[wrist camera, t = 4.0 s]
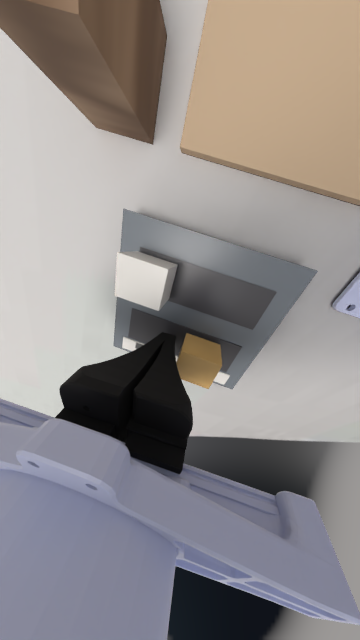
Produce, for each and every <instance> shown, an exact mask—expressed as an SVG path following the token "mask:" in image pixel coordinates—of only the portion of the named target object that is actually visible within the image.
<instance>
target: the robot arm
mask: <svg viewBox="0 0 360 640" xmlns="http://www.w3.org/2000/svg"><path fill="white" fill-rule="evenodd" d="M349 305H351V306H350V307H349V308H348V309H346V308H347V306H349ZM332 307H333V309H335V310H337V311H339V312H342V313H345V314H348V315H351V316H354V317H357V318H360V272H359V274H358V275H357V276H356V277H355V278H354V279H353V280H352V282H351V283H350V284H349V285H348V286H347V287H346V289H345V290H344V291H343V292H342V293H341V294H340V296H339V297H338V298H337V299H336V300H335V301H334V303H333V305H332ZM175 341H176V336H175V335H172V334H168V333H164V332H161V333H160V334H159V335H157V336H156V337H155V338H153V339H152V340H150V341H149V342H148V343H146V344H144V345H143V346H141V347H139V348H138V349H136V350H134V351H132V352H130V353H127V354H125V355H122V356H120V357H117V358H114V359H111V360H108V361H105V362H101V363H97V364H92V365H88V366H83V367H81V368H80V369H79V370H78V371H76V372H75V373H74V374H73V375H72V376H71V377H70V378H69V379H68V380H67V381H66V382H64V383H63V384H62V385H61V387H60V395H61V399H62V402H63V405H64V409H63V410H62V411H61V412H60V413H59V414H58V415H57V416H56V417H55V418H54V417H51V416H48V415H45V414H43V413H40V412H37V411H34V410H31V409H28V408H26V407H23V406H20V405H17V404H14V403H11V402H9V401H6V400H3V399H0V640H167V633H168V625H169V615H170V607H171V599H172V590H173V581H174V572H175V566H178V567H180V568H183V569H186V570H189V571H191V572H194V573H197V574H199V575H202V576H205V577H208V578H211V579H214V580H216V581H219V582H221V583H224V584H227V585H230V586H232V587H235V588H238V589H241V590H243V591H246V592H249V593H251V594H254V595H257V596H259V597H262V598H265V599H267V600H270V601H272V602H275V603H277V604H280V605H283V606H285V607H288V608H290V609H293V610H295V611H298V612H300V613H302V614H305V615H307V616H310V617H313V618H318V619H325V620H331V621H337V622H343V623H350V624H356V625H360V613H359V610H358V608H357V605H356V603H355V600H354V598H353V595H352V593H351V590H350V588H349V586H348V583H347V581H346V578H345V576H344V573H343V571H342V568H341V566H340V563H339V561H338V558H337V556H336V553H335V551H334V548H333V546H332V544H331V541H330V539H329V536H328V534H327V531H326V529H325V526H324V524H323V521H322V519H321V516H320V514H319V511H318V509H317V506H316V504H315V502H314V501H313V500H311V499H309V498H306V497H303V496H300V495H297V494H294V493H292V492H288V491H282V492H279V493H277V494H276V496H274V495H271V494H269V493H266V492H263V491H260V490H257V489H254V488H252V487H249V486H246V485H243V484H240V483H237V482H235V481H232V480H229V479H226V478H223V477H221V476H218V475H215V474H212V473H209V472H206V471H204V470H201V469H198V468H195V467H192V466H189V465H187V464H184V463H183V462H184V455H185V449H186V446H187V439H188V437H189V434H190V432H191V430H192V426H193V416H192V407H191V401H190V399H189V397H188V395H187V393H186V391H185V388H184V386H183V383H182V381H181V378H180V375H179V371H178V368H177V363H176V357H175Z"/></svg>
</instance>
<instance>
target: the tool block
mask: <svg viewBox="0 0 360 640" xmlns="http://www.w3.org/2000/svg"><path fill="white" fill-rule="evenodd" d="M0 28H1V29H2V30H3V31H4V32H5V33H6V34H7V35H8V36H9V37H10V38H11V39H12V40H13V41H14V43H15V44H16V45H17V46H18V47H19V48H20V49H21V50H22V51H23V52H24V53H25V54H26V55H27V56H28V57H29V58H30V59H31V60H32V61H33V62H34V63H35V64H36V65H37V66H38V67H39V69H40V70H41V71H42V72H43V73H44V74H45V75H46V76H47V77H48V78H49V79H50V80H51V81H52V82H53V83H54V84H55V85H56V86H57V87H58V88H59V89H60V90H61V91H62V92H63V93H64V95H65V96H66V97H67V98H68V99H69V100H70V101H71V102H72V103H73V104H74V105H75V106H76V107H77V108H78V109H79V110H80V111H81V112H82V113H83V114H84V115H85V116H86V117H87V118H88V120H89V121H90V122H91V123H92V124H93V125H94V126H95V127H96V128H99V129H103V130H106V131H109V132H113V133H116V134H119V135H123V136H126V137H129V138H133V139H136V140H139V141H143V142H146V143H150V144H153V140H154V132H155V124H156V116H157V109H158V101H159V93H160V86H161V78H162V70H163V63H164V55H165V47H166V39H167V34H166V29H165V24H164V19H163V15H162V10H161V5H160V1H159V0H0Z"/></svg>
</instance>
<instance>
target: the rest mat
mask: <svg viewBox="0 0 360 640" xmlns="http://www.w3.org/2000/svg"><path fill="white" fill-rule="evenodd" d="M180 149H181V152H182V153H184V154H188V155H191V156H194V157H198V158H201V159H205V160H208V161H211V162H215V163H218V164H221V165H225V166H228V167H231V168H235V169H238V170H241V171H245V172H248V173H252V174H255V175H258V176H262V177H265V178H268V179H272V180H275V181H278V182H282V183H285V184H288V185H292V186H295V187H299V188H302V189H305V190H309V191H312V192H315V193H319V194H322V195H325V196H329V197H332V198H335V199H339V200H342V201H346V202H349V203H352V204H356V205H359V206H360V0H208V5H207V10H206V15H205V20H204V25H203V31H202V36H201V41H200V46H199V51H198V56H197V62H196V67H195V72H194V77H193V82H192V87H191V93H190V98H189V103H188V108H187V113H186V118H185V124H184V129H183V134H182V139H181V144H180Z"/></svg>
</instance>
